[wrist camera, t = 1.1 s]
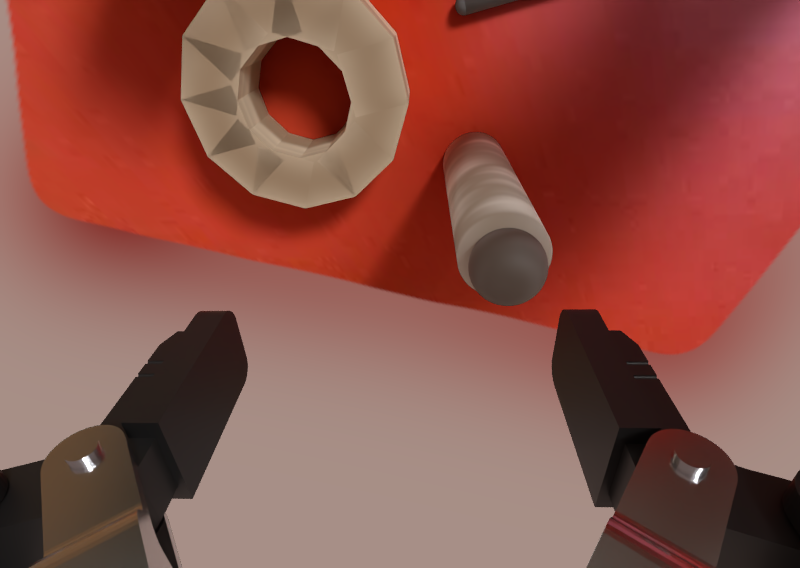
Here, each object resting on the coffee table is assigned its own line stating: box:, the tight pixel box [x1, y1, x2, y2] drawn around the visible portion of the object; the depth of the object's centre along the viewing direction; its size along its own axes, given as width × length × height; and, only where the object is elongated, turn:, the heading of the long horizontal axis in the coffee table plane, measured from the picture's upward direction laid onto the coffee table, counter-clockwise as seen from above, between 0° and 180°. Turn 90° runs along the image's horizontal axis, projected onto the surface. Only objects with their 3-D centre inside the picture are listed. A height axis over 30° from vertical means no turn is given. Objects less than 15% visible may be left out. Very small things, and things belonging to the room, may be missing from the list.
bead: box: [181, 0, 410, 208], centre depth 27 cm, size 12×12×4 cm
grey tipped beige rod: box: [443, 132, 553, 306], centre depth 24 cm, size 4×4×15 cm
